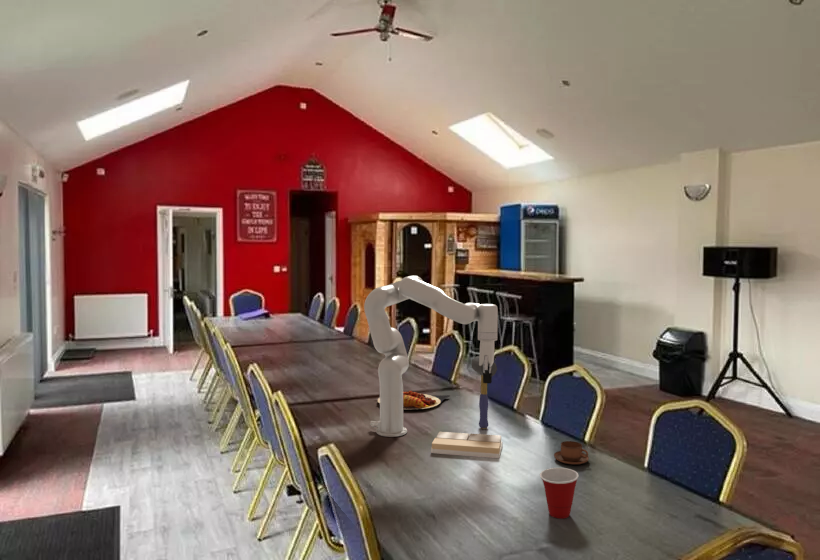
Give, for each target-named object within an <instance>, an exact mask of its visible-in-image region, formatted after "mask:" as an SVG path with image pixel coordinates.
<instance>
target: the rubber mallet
mask: <svg viewBox="0 0 820 560" xmlns="http://www.w3.org/2000/svg"><path fill="white" fill-rule="evenodd" d="M479 357H480V355H477V356H475V357H473V359H472V361H471V364H470V365H471V368H472V369H473V371H475V372H476V373H477V374H478V375H480V395H479V401H478V402H479V403H478V404H479V405H478V407H479V421H478V426H479V429H481V430H486V429H488V427H489V421H488V419H489V418H488V415H489V414H488V412H489V397H488V383H483V364H482V365H481V366H480V365H479ZM497 371H498V366H497V364H496V362H495V361H494V362H493V364H492V366H491V372H492V377H494V376H495V375H496V374H497Z"/></svg>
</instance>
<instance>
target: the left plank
mask: <svg viewBox="0 0 820 560" xmlns="http://www.w3.org/2000/svg"><path fill="white" fill-rule="evenodd" d="M469 436H470V433H467V432H466V433H463V432H450V431H438V433H437V435H436V437H435V438H441V439H455V440H468V439H469Z"/></svg>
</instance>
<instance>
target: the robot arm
mask: <svg viewBox="0 0 820 560" xmlns="http://www.w3.org/2000/svg"><path fill="white" fill-rule="evenodd" d="M406 300H411V301H414V302H416V303H418V304H421V305H423V306H425V307H427V308H429V309H432V310H433V311H434V312H437V313H438V314H440V315H442V316H443V317H445V318H447V319H450V320H452V321H454V322H456V323H458V324H462V325H468V324H471V323H472V322H477V340H478V341H480V343H479V356H480V357H479V365H480V366H481V365H482V364H483V383H487V384H492V381H493V376H492V372H491V366H492V364H493V362H494V363H495V342H496V341H498V325H499V324H498V323H499V322H498V318H499V317H498V316H499V313H498V306H497V305H496V304H493V303H481V304H480V303H475V302H466V303H463V302H460V301H457V300H455V299H454V298H451V297H449V296H448V295H447V294H446V293H445V292H444V291H443V290H442V289H441V288H440V287H437V286H435V285H432V284H430V283H427V282H425V281H424V280H423V279H422V278H421V277H420V276H418V275H409V276H405V277H403V278H402V279H401V280H399V281H396V282H392V283H390V284H388V285H382V286H379V287H376V288H374V289H373V290H372V291H370V292H369V294H368V295H367V296H366V298H365V301H364V304H363V308H364V309H363V310H364V315H365V317H366V320H367V324H368V329H369V333H370V336H371V339H372V343H373V347H374V348H375V350H376V351H377V352H378V353H380V354H384V356H385V357H384V358H382V360H381V361H380V362H379V364H378V369H377V372H378V373H377V374H378V381H379V382H378V383H379V397H380V403H379V420H377V421H376V420H370V423H369V425H370V426H371V428H376V429H375V432H376V434H377V435H378V436H381V437H389V438H394V437H401V436H404V435H406V434H407V432H408V429H407V428H406V427H404V407H403V392H404V385H403V378H402V377H403V374H405V373H406V372H407V371H408V369H409V367H410V360H409V356H408V353H407V348H406V346H405V341H404V339H403V336H402V334H401V332H400V331H399V330H398V329H396V328H395V327H391V325H390V320H389V317H388V315H387V312H386V308H387V307H390V306H393V305H396V304H399V303H401V302H404V301H406Z"/></svg>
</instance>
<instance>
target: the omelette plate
mask: <svg viewBox="0 0 820 560" xmlns="http://www.w3.org/2000/svg"><path fill="white" fill-rule="evenodd" d="M450 397H451V395H447V394H446V395H437V394H436V395H430V394H425V393H423V392H422V393H418V392H417V391H416V392H415V391H414V392H413V391H412V390H409V391H403V411H404V410H405V411H406V410H408V411H409V410H410V411H411V410H415V409H421V410H424V409H430V408H434V407H437V406H438V405H440V404H441V403H442V402H443V401H444V400H445V399H447V398H450ZM377 403H379V404H380V396H379V397H378V398H377ZM406 408H407V409H406Z"/></svg>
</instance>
